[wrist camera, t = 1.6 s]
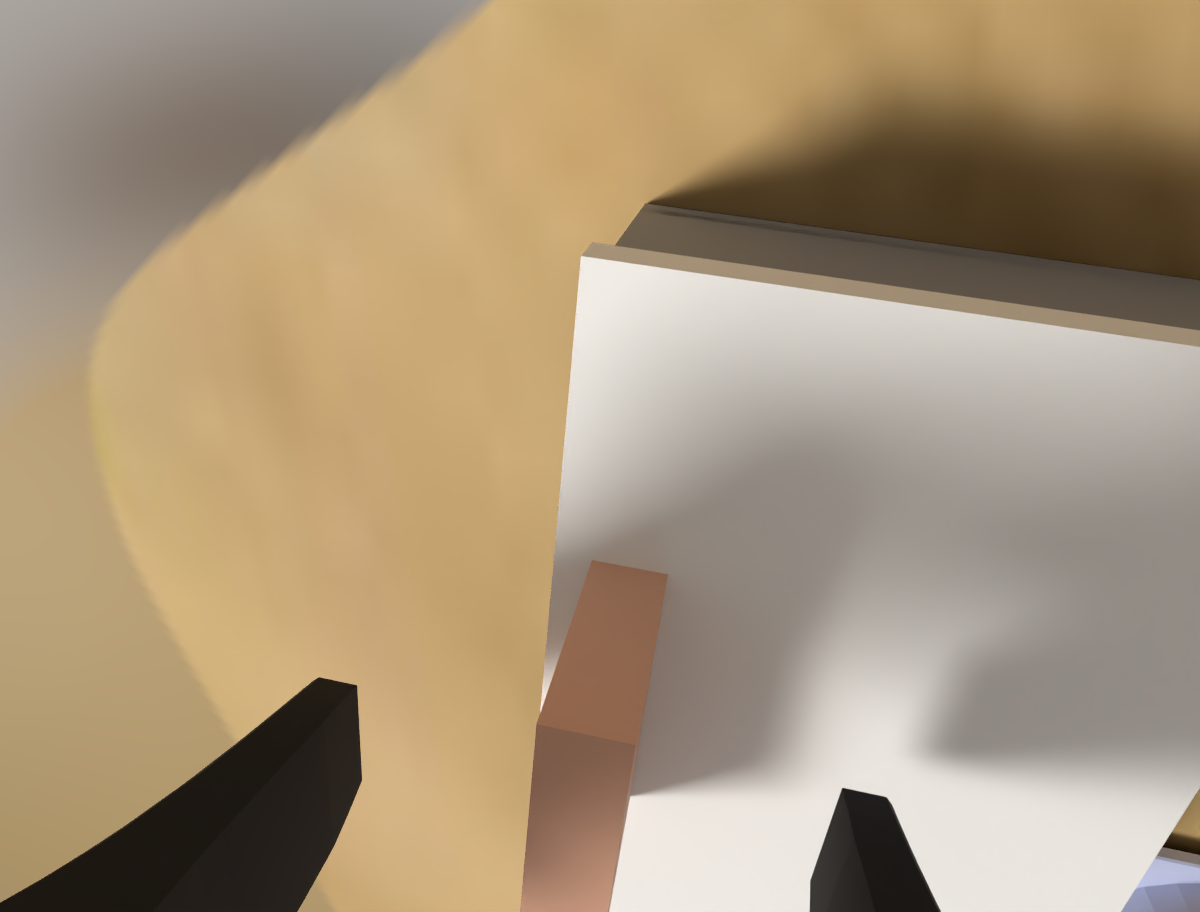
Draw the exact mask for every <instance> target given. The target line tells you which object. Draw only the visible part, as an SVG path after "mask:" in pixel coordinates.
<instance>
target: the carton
mask: <svg viewBox="0 0 1200 912" xmlns="http://www.w3.org/2000/svg"><path fill="white" fill-rule="evenodd" d="M615 246H621V247H628V248H635V249H641V250H648V251H655V252H662V253H669V254H676V255H683V256H690V257H697V258H703V259H710V260H717V261H724V262H731V263H738V264H745V265H752V266H759V267H766V268H772V269H779V270H786V271H793V272H800V273H807V274H814V275H821V276H828V277H834V278H841V279H848V280H855V281H862V282H869V283H876V284H883V285H890V286H896V287H903V288H910V289H917V290H924V291H931V292H938V293H945V294H952V295H959V296H965V297H972V298H979V299H986V300H993V301H1000V302H1007V303H1014V304H1021V305H1027V306H1034V307H1041V308H1048V309H1055V310H1062V311H1069V312H1076V313H1083V314H1090V315H1096V316H1103V317H1110V318H1117V319H1124V320H1131V321H1138V322H1145V323H1152V324H1158V325H1165V326H1172V327H1179V328H1186V329H1193V330H1200V280H1195V279H1188V278H1180V277H1173V276H1166V275H1159V274H1151V273H1144V272H1137V271H1130V270H1123V269H1115V268H1108V267H1101V266H1094V265H1087V264H1079V263H1072V262H1065V261H1058V260H1050V259H1043V258H1036V257H1029V256H1022V255H1014V254H1007V253H1000V252H993V251H986V250H978V249H971V248H964V247H957V246H949V245H942V244H935V243H928V242H921V241H913V240H906V239H899V238H892V237H884V236H877V235H870V234H863V233H856V232H848V231H841V230H834V229H827V228H820V227H812V226H805V225H798V224H791V223H783V222H776V221H769V220H762V219H755V218H747V217H740V216H733V215H726V214H719V213H711V212H704V211H697V210H690V209H682V208H675V207H668V206H661V205H654V204H645V205H644V206H643V208H642V209H641V210H640V212H639V213H638V215H637V216H636V217H635V219H634V220H633V221H632V223H631V224H630V226H629V227H628V228H627V230H626V231H625V232H624V234H623V235H622V236H621V238H620V239H619V241H618V242H617V243H616V245H615Z"/></svg>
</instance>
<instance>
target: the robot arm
mask: <svg viewBox="0 0 1200 912" xmlns="http://www.w3.org/2000/svg"><path fill="white" fill-rule="evenodd" d="M361 781H362V772H361V753H360V734H359V715H358V696H357V685H352V684H348V683H343V682H338V681H334V680H329V679H324V678H317V679H316V680H314V681H313V682H311V683H310V684H309V685H308V686H306V687H305V688H304V689H303V690H301V691H300V692H299V693H298V694H297V695H295V696H294V697H293V698H292V699H291V700H289V701H288V702H287V703H286V704H284V705H283V706H282V707H281V708H280V709H278V710H277V711H276V712H275V713H274V714H272V715H271V716H270V717H269V718H267V719H266V720H265V721H264V722H263V723H261V724H260V725H259V726H258V727H256V728H255V729H254V730H253V731H251V732H250V733H249V734H248V735H246V736H245V737H244V738H243V739H241V740H240V741H239V742H238V743H236V744H235V745H234V746H233V747H231V748H230V749H229V750H227V751H226V752H225V753H224V754H222V755H221V756H220V757H218V758H217V759H216V760H214V761H213V762H212V763H211V764H210V765H208V766H207V767H205V768H204V769H203V770H202V771H200V772H199V773H198V774H196V775H195V776H194V777H192V778H191V779H190V780H188V781H187V782H186V783H185V784H183V785H182V786H180V787H179V788H178V789H176V790H175V791H173V792H172V793H171V794H169V795H168V796H166V797H165V798H164V799H162V800H161V801H159V802H158V803H157V804H155V805H154V806H152V807H151V808H150V809H148V810H147V811H145V812H144V813H143V814H141V815H140V816H138V817H137V818H135V819H134V820H133V821H131V822H130V823H128V824H127V825H126V826H124V827H123V828H121V829H120V830H118V831H117V832H115V833H114V834H112V835H111V836H109V837H108V838H106V839H105V840H103V841H102V842H100V843H99V844H97V845H95V846H94V847H92V848H91V849H89V850H88V851H86V852H85V853H83V854H81V855H80V856H78V857H77V858H75V859H73V860H72V861H70V862H69V863H67V864H65V865H64V866H62V867H60V868H59V869H57V870H56V871H54V872H52V873H51V874H49V875H48V876H46V877H44V878H43V879H41V880H39V881H38V882H36V883H34V884H32V885H30V886H29V887H27V888H25V889H23V890H22V891H20V892H18V893H16V894H15V895H13V896H11V897H10V898H8V899H6V900H4V901H2V902H1V903H0V912H297V911H298V910H299V908H300V906H301V904H302V903H303V901H304V899H305V897H306V896H307V894H308V892H309V890H310V888H311V887H312V885H313V883H314V881H315V879H316V878H317V876H318V874H319V872H320V871H321V869H322V867H323V865H324V863H325V862H326V860H327V858H328V856H329V854H330V853H331V851H332V849H333V847H334V845H335V843H336V840H337V838H338V836H339V834H340V831H341V829H342V827H343V824H344V822H345V820H346V818H347V815H348V813H349V810H350V808H351V806H352V803H353V801H354V798H355V796H356V794H357V791H358V789H359V786H360V784H361ZM810 912H941V910H940V908H939V906H938V904H937V902H936V900H935V898H934V896H933V894H932V892H931V890H930V888H929V886H928V884H927V882H926V880H925V877H924V875H923V873H922V871H921V869H920V867H919V865H918V863H917V860H916V858H915V856H914V854H913V852H912V849H911V847H910V845H909V843H908V840H907V838H906V836H905V834H904V831H903V829H902V827H901V825H900V822H899V820H898V818H897V815H896V813H895V810H894V808H893V806H892V804H891V803H890V801H889V800H888V798H887V797H884V796H879V795H875V794H870V793H865V792H860V791H856V790H851V789H846V788H842V790H841V793H840V796H839V798H838V801H837V804H836V807H835V810H834V813H833V816H832V819H831V822H830V825H829V828H828V830H827V833H826V836H825V839H824V842H823V845H822V848H821V851H820V854H819V857H818V859H817V862H816V865H815V868H814V871H813V874H812V877H811V880H810ZM1121 912H1200V855H1197V854H1193V853H1188V852H1183V851H1179V850H1174V849H1169V848H1164V847H1162V848H1161V849H1160V851H1159V853H1158V854H1157V856H1156V857H1155V859H1154V860H1153V862H1152V864H1151V865H1150V867H1149V868H1148V870H1147V871H1146V873H1145V875H1144V876H1143V878H1142V879H1141V881H1140V882H1139V884H1138V886H1137V887H1136V889H1135V890H1134V892H1133V893H1132V895H1131V897H1130V898H1129V900H1128V901H1127V903H1126V904H1125V906H1124V908H1123V909H1122V911H1121Z"/></svg>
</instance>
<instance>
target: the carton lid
mask: <svg viewBox="0 0 1200 912" xmlns="http://www.w3.org/2000/svg"><path fill="white" fill-rule="evenodd" d="M842 788H846V789H851V790H856V791H860V792H865V793H870V794H875V795H879V796H884V797H887V798H888V800H889V801H890V803H891V804H892V806H893V808H894V810H895V813H896V815H897V818H898V820H899V822H900V825H901V827H902V829H903V831H904V834H905V836H906V838H907V840H908V843H909V845H910V847H911V849H912V852H913V854H914V856H915V858H916V860H917V863H918V865H919V867H920V869H921V871H922V873H923V875H924V877H925V880H926V882H927V884H928V886H929V888H930V890H931V892H932V894H933V896H934V898H935V900H936V902H937V904H938V906H939V908H940V910H941V912H1121V911H1122V909H1123V908H1124V906H1125V904H1126V903H1127V901H1128V900H1129V898H1130V897H1131V895H1132V893H1133V892H1134V890H1135V889H1136V887H1137V886H1138V884H1139V882H1140V881H1141V879H1142V878H1143V876H1144V875H1145V873H1146V871H1147V870H1148V868H1149V867H1150V865H1151V864H1152V862H1153V860H1154V859H1155V857H1156V856H1157V854H1158V853H1159V851H1160V849H1161V848H1162V846H1163V845H1164V843H1165V842H1166V840H1167V838H1168V837H1169V835H1170V834H1171V832H1172V831H1173V829H1174V827H1175V826H1176V824H1177V823H1178V821H1179V820H1180V818H1181V816H1182V815H1183V813H1184V812H1185V810H1186V809H1187V807H1188V805H1189V804H1190V802H1191V801H1192V799H1193V798H1194V796H1195V794H1196V793H1197V791H1198V790H1199V788H1200V330H1193V329H1186V328H1179V327H1172V326H1165V325H1158V324H1152V323H1145V322H1138V321H1131V320H1124V319H1117V318H1110V317H1103V316H1096V315H1090V314H1083V313H1076V312H1069V311H1062V310H1055V309H1048V308H1041V307H1034V306H1027V305H1021V304H1014V303H1007V302H1000V301H993V300H986V299H979V298H972V297H965V296H959V295H952V294H945V293H938V292H931V291H924V290H917V289H910V288H903V287H896V286H890V285H883V284H876V283H869V282H862V281H855V280H848V279H841V278H834V277H828V276H821V275H814V274H807V273H800V272H793V271H786V270H779V269H772V268H766V267H759V266H752V265H745V264H738V263H731V262H724V261H717V260H710V259H703V258H697V257H690V256H683V255H676V254H669V253H662V252H655V251H648V250H641V249H635V248H628V247H621V246H614V245H607V244H600V243H592V244H591V245H590V246H589V247H588V248H587V250H586V251H585V252H584V253H583V254H582V256H581V263H580V274H579V285H578V296H577V308H576V319H575V330H574V341H573V352H572V364H571V375H570V386H569V397H568V408H567V419H566V431H565V442H564V453H563V464H562V475H561V487H560V498H559V509H558V520H557V531H556V543H555V554H554V565H553V576H552V587H551V598H550V610H549V621H548V632H547V643H546V654H545V666H544V677H543V688H542V699H541V710H540V716H539V719H538V722H537V726H536V738H535V749H534V760H533V772H532V783H531V795H530V806H529V818H528V829H527V841H526V852H525V863H524V875H523V886H522V898H521V909H520V912H810V880H811V877H812V874H813V871H814V868H815V865H816V862H817V859H818V857H819V854H820V851H821V848H822V845H823V842H824V839H825V836H826V833H827V830H828V828H829V825H830V822H831V819H832V816H833V813H834V810H835V807H836V804H837V801H838V798H839V796H840V793H841V790H842Z"/></svg>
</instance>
